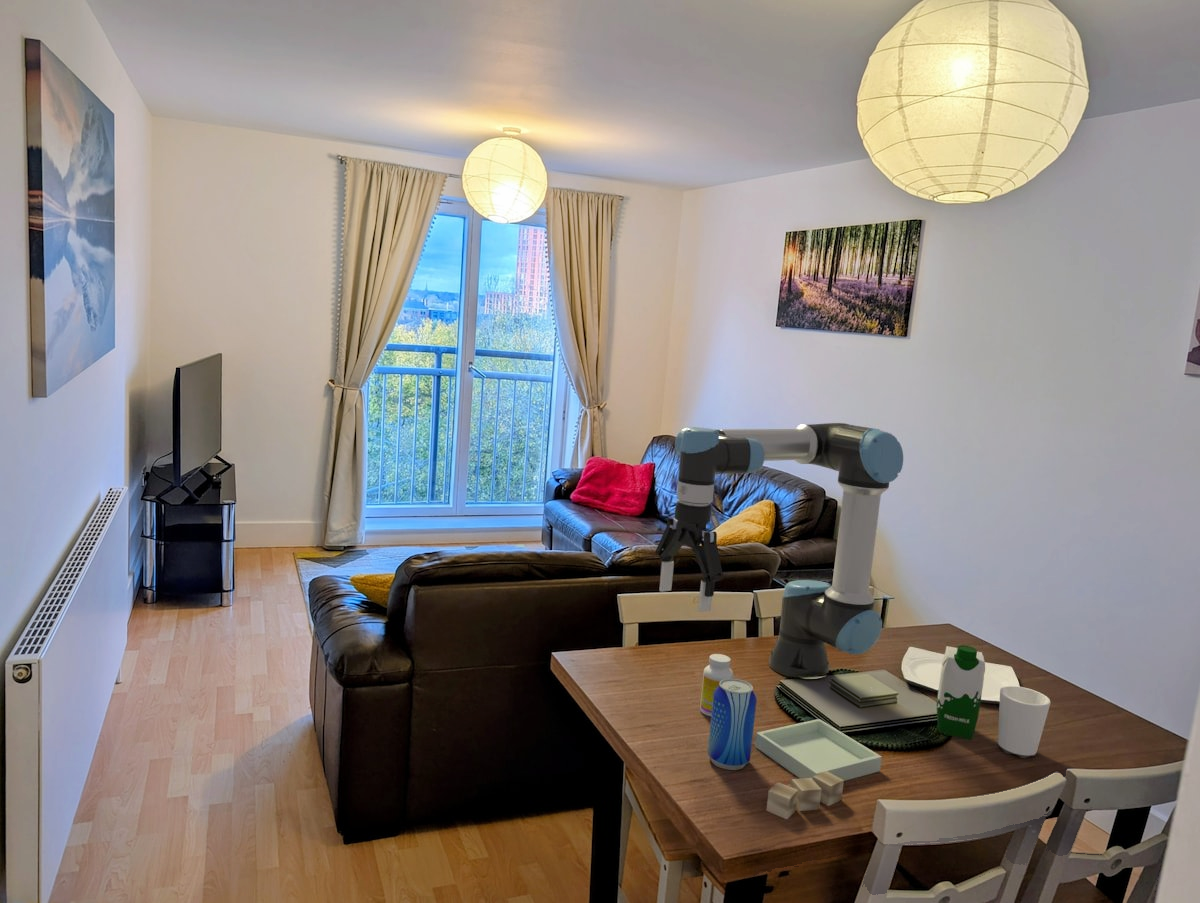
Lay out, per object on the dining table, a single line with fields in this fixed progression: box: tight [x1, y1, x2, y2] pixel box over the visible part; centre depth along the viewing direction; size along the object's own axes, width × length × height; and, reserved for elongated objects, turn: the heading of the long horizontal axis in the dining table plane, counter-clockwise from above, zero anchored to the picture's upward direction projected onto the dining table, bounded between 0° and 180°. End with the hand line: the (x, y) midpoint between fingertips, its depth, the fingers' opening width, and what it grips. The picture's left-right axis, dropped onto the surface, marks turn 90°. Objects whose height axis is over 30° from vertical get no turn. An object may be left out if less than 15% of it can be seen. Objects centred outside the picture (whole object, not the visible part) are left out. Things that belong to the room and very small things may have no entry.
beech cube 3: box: [765, 781, 798, 820], centre depth 156 cm, size 4×4×4 cm
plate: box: [900, 646, 1021, 705], centre depth 224 cm, size 29×29×3 cm
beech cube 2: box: [790, 778, 822, 812], centre depth 159 cm, size 4×4×4 cm
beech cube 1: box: [813, 771, 844, 807], centre depth 162 cm, size 4×4×4 cm
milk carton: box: [936, 645, 986, 741], centre depth 194 cm, size 9×9×20 cm
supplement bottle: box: [699, 653, 734, 718], centre depth 194 cm, size 7×7×13 cm
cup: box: [997, 686, 1052, 759], centre depth 186 cm, size 10×10×13 cm
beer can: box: [707, 678, 757, 771], centre depth 172 cm, size 8×8×16 cm
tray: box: [754, 718, 883, 782], centre depth 177 cm, size 18×18×3 cm
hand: (684, 600), depth 183 cm, fingers open, 13 cm apart
